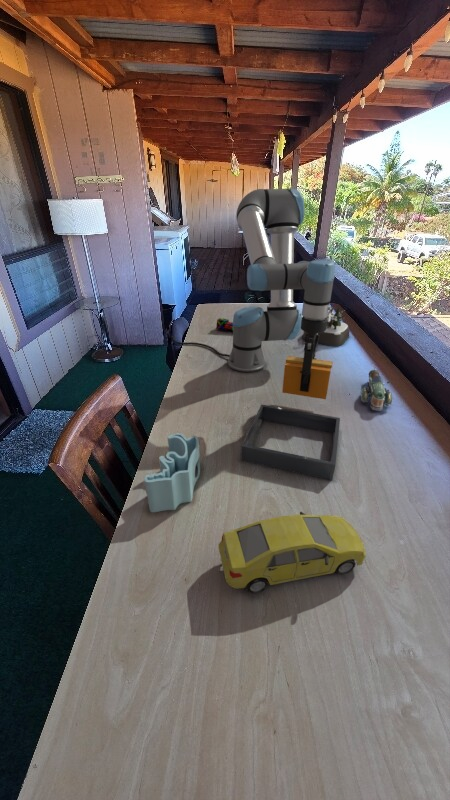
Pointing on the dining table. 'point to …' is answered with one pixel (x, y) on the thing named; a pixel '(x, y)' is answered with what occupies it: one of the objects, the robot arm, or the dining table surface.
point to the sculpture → (224, 324)
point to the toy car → (289, 550)
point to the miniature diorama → (333, 330)
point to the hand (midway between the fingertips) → (305, 385)
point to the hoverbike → (376, 391)
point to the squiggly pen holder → (174, 474)
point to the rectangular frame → (286, 459)
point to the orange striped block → (317, 379)
